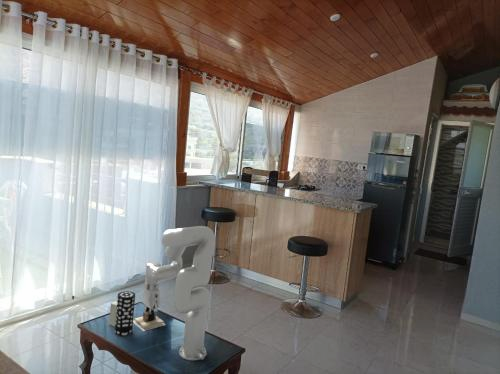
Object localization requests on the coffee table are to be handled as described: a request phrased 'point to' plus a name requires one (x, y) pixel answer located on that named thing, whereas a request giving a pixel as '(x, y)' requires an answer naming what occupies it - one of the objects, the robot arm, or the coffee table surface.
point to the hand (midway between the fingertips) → (149, 318)
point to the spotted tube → (124, 313)
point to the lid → (147, 324)
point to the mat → (147, 328)
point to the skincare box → (113, 313)
